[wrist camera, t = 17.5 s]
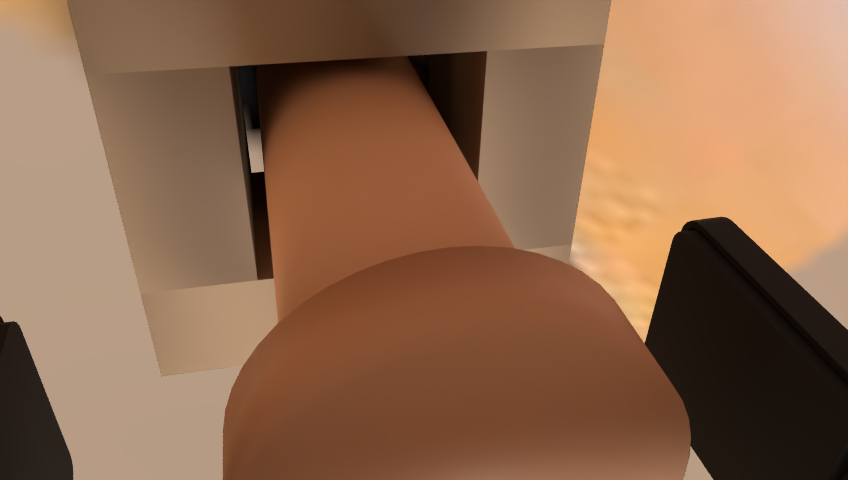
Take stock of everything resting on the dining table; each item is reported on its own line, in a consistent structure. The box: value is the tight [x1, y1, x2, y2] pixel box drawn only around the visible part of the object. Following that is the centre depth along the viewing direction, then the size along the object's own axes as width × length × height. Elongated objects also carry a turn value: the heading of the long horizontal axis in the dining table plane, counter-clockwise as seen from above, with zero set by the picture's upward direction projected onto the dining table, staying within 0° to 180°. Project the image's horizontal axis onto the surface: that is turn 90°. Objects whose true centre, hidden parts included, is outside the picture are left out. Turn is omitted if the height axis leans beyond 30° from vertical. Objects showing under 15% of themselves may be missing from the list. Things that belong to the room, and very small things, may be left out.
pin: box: [223, 56, 691, 480], centre depth 14 cm, size 6×6×14 cm
